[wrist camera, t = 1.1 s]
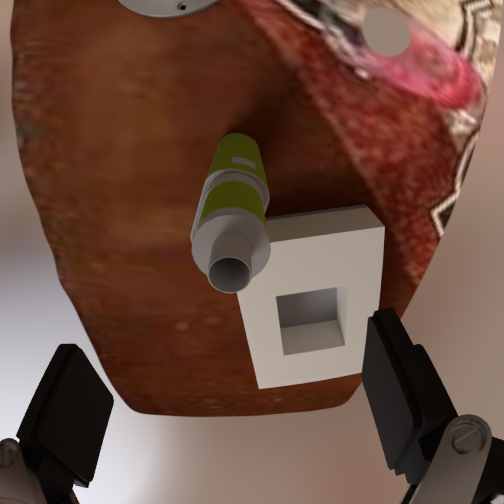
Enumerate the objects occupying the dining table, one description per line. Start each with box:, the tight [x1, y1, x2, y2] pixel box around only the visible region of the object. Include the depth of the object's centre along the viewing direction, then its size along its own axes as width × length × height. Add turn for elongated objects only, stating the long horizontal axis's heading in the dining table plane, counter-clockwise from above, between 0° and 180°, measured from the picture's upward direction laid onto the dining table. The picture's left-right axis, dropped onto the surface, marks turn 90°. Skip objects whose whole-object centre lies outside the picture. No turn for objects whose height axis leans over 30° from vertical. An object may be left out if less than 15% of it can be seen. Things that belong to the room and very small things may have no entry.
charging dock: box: [237, 204, 385, 389], centre depth 35 cm, size 20×14×5 cm
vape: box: [190, 133, 271, 293], centre depth 21 cm, size 4×6×20 cm, turn 162°
